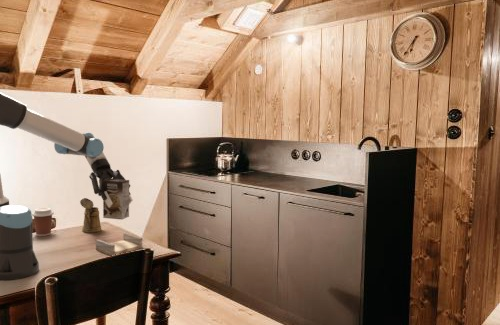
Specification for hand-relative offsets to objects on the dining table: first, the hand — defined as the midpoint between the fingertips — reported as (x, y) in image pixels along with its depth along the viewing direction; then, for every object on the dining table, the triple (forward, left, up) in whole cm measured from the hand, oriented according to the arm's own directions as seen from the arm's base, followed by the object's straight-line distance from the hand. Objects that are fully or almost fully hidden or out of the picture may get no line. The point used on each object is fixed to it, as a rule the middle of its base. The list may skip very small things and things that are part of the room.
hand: (120, 203), depth 179 cm
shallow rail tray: (0, +2, -20) cm, 20 cm away
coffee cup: (-11, +47, -20) cm, 52 cm away
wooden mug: (+6, +35, -20) cm, 41 cm away
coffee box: (0, +3, -7) cm, 7 cm away
